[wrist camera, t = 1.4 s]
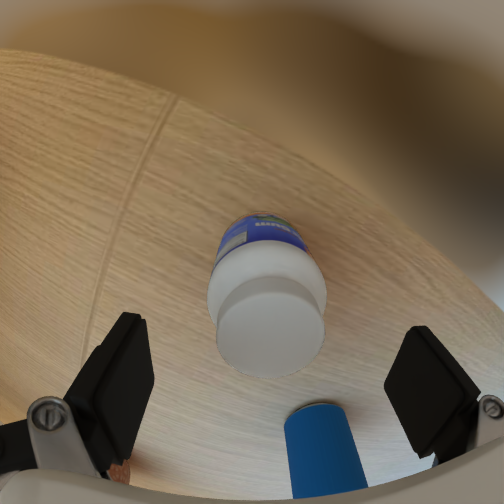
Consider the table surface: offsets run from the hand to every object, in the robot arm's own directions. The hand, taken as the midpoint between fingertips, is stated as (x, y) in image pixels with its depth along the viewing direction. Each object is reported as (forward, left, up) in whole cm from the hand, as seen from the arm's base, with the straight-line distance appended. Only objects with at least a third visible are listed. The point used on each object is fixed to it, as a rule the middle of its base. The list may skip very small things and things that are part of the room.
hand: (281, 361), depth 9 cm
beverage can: (+18, +7, -11) cm, 22 cm away
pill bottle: (0, 0, -11) cm, 11 cm away
